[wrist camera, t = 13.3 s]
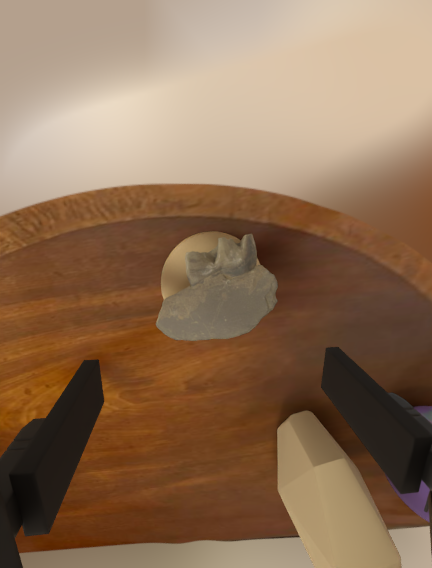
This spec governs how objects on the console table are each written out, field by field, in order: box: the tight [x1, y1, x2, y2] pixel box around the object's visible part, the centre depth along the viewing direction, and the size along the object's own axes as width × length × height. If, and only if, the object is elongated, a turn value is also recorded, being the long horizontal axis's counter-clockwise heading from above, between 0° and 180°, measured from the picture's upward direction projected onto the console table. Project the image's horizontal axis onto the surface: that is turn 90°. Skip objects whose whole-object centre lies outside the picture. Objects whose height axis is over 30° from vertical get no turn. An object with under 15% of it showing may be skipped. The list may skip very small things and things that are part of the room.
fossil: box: [156, 233, 278, 341], centre depth 30 cm, size 14×10×10 cm
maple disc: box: [161, 231, 260, 300], centre depth 35 cm, size 13×13×2 cm
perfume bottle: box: [277, 410, 401, 568], centre depth 32 cm, size 12×24×28 cm, turn 15°
